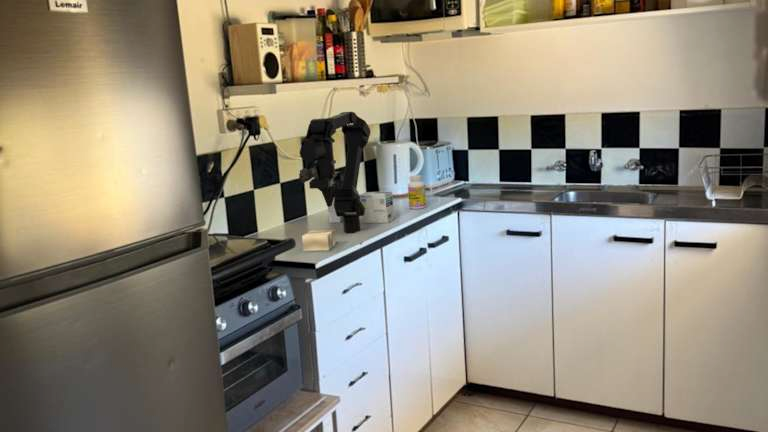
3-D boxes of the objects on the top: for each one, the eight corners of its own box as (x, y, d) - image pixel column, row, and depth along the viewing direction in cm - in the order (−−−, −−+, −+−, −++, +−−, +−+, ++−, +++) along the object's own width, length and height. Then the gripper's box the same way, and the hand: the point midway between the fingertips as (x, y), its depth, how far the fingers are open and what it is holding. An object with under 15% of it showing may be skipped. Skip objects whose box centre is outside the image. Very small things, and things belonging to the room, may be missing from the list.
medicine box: (340, 222, 268) (338, 199, 266) (328, 223, 269) (326, 200, 267) (345, 218, 276) (343, 196, 274) (334, 219, 276) (331, 197, 275)
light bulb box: (395, 219, 265) (392, 190, 263) (387, 223, 259) (385, 193, 257) (369, 219, 269) (366, 191, 267) (361, 223, 263) (358, 194, 261)
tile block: (309, 230, 225) (302, 236, 217) (334, 229, 223) (327, 235, 216) (311, 246, 226) (303, 252, 218) (335, 245, 224) (329, 251, 217)
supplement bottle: (406, 209, 285) (404, 177, 282) (413, 206, 290) (411, 175, 288) (421, 209, 281) (419, 177, 279) (428, 206, 287) (426, 174, 285)
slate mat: (308, 245, 232) (307, 242, 232) (349, 243, 230) (349, 240, 230) (292, 256, 217) (292, 254, 217) (337, 255, 214) (336, 252, 214)
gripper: (309, 156, 239) (314, 202, 242) (291, 163, 221) (296, 212, 224) (341, 154, 237) (345, 201, 239) (325, 160, 219) (330, 211, 221)
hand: (329, 206), depth 231 cm, fingers closed
